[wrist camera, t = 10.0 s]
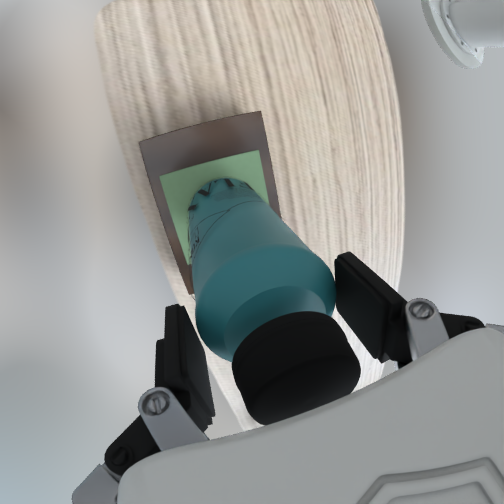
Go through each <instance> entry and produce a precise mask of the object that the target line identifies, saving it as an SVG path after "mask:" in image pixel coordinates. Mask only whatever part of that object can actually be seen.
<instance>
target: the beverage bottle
mask: <svg viewBox="0 0 504 504" xmlns="http://www.w3.org/2000/svg"><path fill="white" fill-rule="evenodd" d="M225 177H226V178H220V179H219V177H218V179H216V180H213V181H210V180H209V181H210V182H209V183H207V184H205V183H204V184H205V185H204V186H202V185H201V186H202V187H201V186H200V187H201V188H200V189H199V190H198V191H197V190H196V191H197V192H196V191H195V192H196V194H194V195H193V196H194V197H192V198H193V199H192V201H191V203H190V206H189V208H188V211H189V221H188V222H189V227H188V229H189V230H187V231H188V233H187V235H188V238H187V239H188V240H187V242H189V240H190V245H189V248H190V249H189V250H188V251H190V250H191V252H190V253H191V256H190V260H191V264H192V268H191V270H192V272H191V273H192V275H191V276H190V280H192V279H191V278H192V277H193V280H192V281H193V286H192V287H193V288H194V289H193V292H194V294H195V299H194V300H195V301H196V309H195V318H196V326H197V329H198V332H199V335H200V337H201V339H202V340H203V342H204V343H205V344H206V346H207V347H208V348H209V349H210V350H211V351H212V352H214V353H215V354H216V355H218V356H219V357H221V358H223V359H225V360H228V361H230V362H232V371H233V375H234V379H235V382H236V385H237V387H238V389H239V390H240V392H241V395H242V398H243V401H244V403H245V406H246V409H247V411H248V413H249V414H250V415H251V417H252V418H253V419H254V420H255V421H257V422H258V423H260V424H263V425H269V424H272V423H276V422H279V421H282V420H285V419H288V418H291V417H294V416H296V415H299V414H302V413H305V412H307V411H310V410H313V409H315V408H318V407H320V406H323V405H325V404H328V403H330V402H333V401H335V400H337V399H340V398H342V397H344V396H347V395H349V394H350V393H351V392H352V391H353V390H354V388H355V387H356V385H357V383H358V381H359V378H360V374H361V368H360V363H359V360H358V358H357V357H356V355H355V353H354V351H353V350H352V348H351V346H350V344H349V343H348V341H347V338H346V335H345V333H344V332H343V330H342V329H341V327H340V326H339V325H338V323H337V322H336V321H335V320H334V319H333V318H332V317H331V316H332V314H333V311H334V308H335V303H336V285H335V281H334V277H333V275H332V273H331V271H330V269H329V267H328V266H327V265H326V264H325V263H324V261H323V260H322V259H321V258H319V257H318V256H317V255H316V254H314V253H313V252H312V251H311V250H310V249H309V248H308V247H307V246H306V245H305V244H304V243H303V242H302V241H301V240H300V238H299V237H298V236H297V235H296V234H295V233H294V232H293V231H292V230H291V229H290V228H289V227H288V226H287V225H286V224H285V223H284V222H283V221H282V219H280V218H279V216H278V214H276V213H275V211H276V210H273V209H274V208H273V207H271V206H272V205H271V206H269V205H270V204H269V205H268V204H267V203H268V202H265V201H264V198H263V199H262V197H260V195H258V194H259V193H258V194H257V193H256V192H255V190H256V189H255V190H254V189H252V188H251V187H250V186H249V185H248V183H246V182H245V181H244V182H242V181H241V179H239V180H237V179H233V178H232V177H231V178H230V177H229V178H227V176H225ZM235 178H236V177H235ZM214 179H215V178H214ZM189 202H190V201H189ZM272 208H273V209H272ZM278 213H279V212H278ZM280 217H281V216H280ZM187 219H188V217H187ZM187 224H188V223H187ZM189 234H190V239H189ZM188 254H189V253H188ZM188 257H189V255H188ZM188 261H189V259H188ZM189 267H190V264H189ZM192 281H191V282H190V283H191V285H192ZM190 292H191V291H190ZM191 295H192V294H191ZM192 297H193V296H192Z"/></svg>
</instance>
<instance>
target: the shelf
mask: <svg viewBox="0 0 504 504" xmlns="http://www.w3.org/2000/svg"><path fill="white" fill-rule="evenodd" d="M139 146H140V150H141V154H142V157H143V161H144V164H145V168H146V171H147V175H148V178H149V181H150V185H151V188H152V191H153V194H154V198H155V201H156V204H157V207H158V210H159V213H160V216H161V219H162V222H163V225H164V228H165V231H166V234H167V237H168V240H169V243H170V245H171V248H172V251H173V254H174V256H175V259H176V262H177V265H178V267H179V270H180V273H181V275H182V278H183V280H184V283H185V286H186V288H187V291H188V293H189V295H190V294H194V292H193V289H194V288H193V287H192V286H193V281H192V280H193V277H192V278H191V279H192V280H190V276H191V275H192V273H191V272H192V270H191V268H192V264H191V260H190V256H191V253H190V252H191V250H190V251H188V250H189V249H190V248H189V245H190V240H189V242H187V240H188V239H187V238H188V235H187V233H188V231H187V230H189V229H188V227H189V222H188V221H189V211H188V208H189V206H190V203H191V201H192V199H193V198H192V197H194V196H193V195H194V194H196V192H197V191H198V190H199V189H200V188H201V187H202V186H204V185H205V184H207V183H209V182H210V181H213V180H216V179H218V177H219V179H220V178H226V177H225V176H227V178H229V177H230V178H231V177H232V178H233V179H237V180H239V179H241V181H242V182H244V181H245V182H246V183H248V185H249V186H250V187H251V188H252V189H254V190H255V189H256V190H255V192H256V193H257V194H258V193H259V194H258V195H260V197H262V199H263V198H264V201H265V202H268V203H267V204H268V205H269V204H270V205H269V206H271V205H272V206H271V207H273V208H274V209H273V208H272V209H273V210H276V211H275V213H276V214H278V216H279V218H280V219H281V217H280V216H281V213H280V207H279V202H278V196H277V190H276V185H275V179H274V174H273V169H272V163H271V158H270V153H269V148H268V143H267V138H266V133H265V128H264V123H263V118H262V113H261V111H256V112H251V113H246V114H240V115H236V116H231V117H226V118H222V119H217V120H213V121H209V122H205V123H201V124H197V125H193V126H189V127H186V128H182V129H179V130H175V131H172V132H168V133H165V134H162V135H159V136H155V137H152V138H149V139H146V140H143V141H140V142H139ZM235 177H236V178H235ZM214 178H215V179H214ZM209 180H210V181H209ZM204 183H205V184H204ZM201 185H202V186H201ZM200 186H201V187H200ZM196 190H197V191H196ZM195 191H196V192H195ZM189 201H190V202H189ZM278 212H279V213H278ZM187 217H188V219H187ZM187 223H188V224H187ZM189 239H190V234H189ZM188 253H189V254H188ZM188 255H189V257H188ZM188 259H189V261H188ZM189 264H190V267H189ZM191 281H192V285H191V283H190V282H191ZM190 291H191V292H190Z"/></svg>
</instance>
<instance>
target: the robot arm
mask: <svg viewBox="0 0 504 504" xmlns="http://www.w3.org/2000/svg"><path fill="white" fill-rule="evenodd" d="M440 11H441V16H442V19H443V21H444V24H445V26H446V28H447V30H448V32H449V34H450V36H451V37H452V39H453V40H454V42H455V43H456V44H457V45H458V47H459V48H460V49H461V50H462V51H464V52H465V53H467V54H469V55H476V54H478V52H479V50H480V47H504V0H459V1H458V0H441V1H440ZM334 266H335V285H336V308H337V311H338V312H339V314H340V315H341V316H342V318H343V319H344V320H345V321H346V323H347V324H348V325H349V327H350V328H351V329H352V330H353V332H354V333H355V334H356V336H357V337H358V338H359V340H360V341H361V342H362V344H363V345H364V346H365V348H366V349H367V350H368V352H369V353H370V354H371V356H372V357H373V358H374V359H377V358H378V360H379V361H380V362H381V364H382V363H384V362H386V361H387V360H389V359H391V360H392V361H394V365H395V372H393V373H391V374H390V375H388V376H386V377H384V378H382V379H380V380H378V381H376V382H374V383H372V384H370V385H368V386H366V387H364V388H362V389H360V390H357V391H355V392H353V393H351V394H349V395H347V396H344V397H342V398H340V399H337V400H335V401H333V402H330V403H328V404H325V405H323V406H320V407H318V408H315V409H313V410H310V411H307V412H305V413H302V414H299V415H296V416H294V417H291V418H288V419H285V420H282V421H279V422H276V423H272V424H269V425H266V426H263V427H259V428H256V429H252V430H248V431H245V432H241V433H237V434H233V435H229V436H225V437H221V438H217V439H212V440H210V439H209V438H208V437H207V436H206V435H205V433H204V431H205V430H206V429H207V428H208V425H211V424H212V418H211V417H214V416H215V409H214V404H213V398H212V393H211V387H210V382H209V375H208V368H207V362H206V355H205V351H204V349H203V346H202V344H201V342H200V340H199V338H198V336H197V333H196V331H195V329H194V327H193V325H192V322H191V320H190V318H189V315H188V313H187V311H186V309H185V307H184V306H180V305H179V304H175V305H171V306H168V307H166V310H165V335H164V339H160V340H157V342H156V361H155V388H152V389H149V390H148V391H147V392H145V393H144V394H143V395H142V396H141V397H140V400H139V402H138V409H139V412H140V415H139V417H137V418H136V420H135V421H134V422H133V423H132V424H131V425H130V426H129V427H128V428H127V429H126V430H125V431H124V432H123V433H122V434H121V435H120V436H119V437H118V438H117V439H116V440H115V441H114V442H113V443H112V444H111V445H110V446H109V447H108V449H107V450H106V453H105V459H104V460H105V463H104V464H103V465H100V464H99V465H98V466H97V467H96V468H95V469H94V470H93V471H92V472H91V473H90V474H89V476H88V477H87V478H86V479H85V480H84V481H83V482H82V483H81V484H80V485H79V486H78V487H77V488H76V489H75V491H74V492H73V494H72V502H73V504H504V326H501V325H494V324H486V326H484V324H483V323H482V322H481V321H480V320H479V319H477V318H475V317H471V316H462V315H454V314H445V313H439V312H438V309H437V307H436V306H435V304H434V303H433V302H431V301H429V300H427V299H423V298H416V299H412V300H411V301H409V302H407V301H406V300H405V299H404V298H403V297H401V296H400V295H399V294H398V293H397V292H396V291H395V290H394V289H393V288H392V287H390V286H389V285H388V284H387V283H386V282H385V281H384V280H383V279H381V278H380V277H379V276H378V275H377V274H376V273H375V272H373V271H372V270H371V269H370V268H369V267H368V266H366V265H365V264H364V263H363V262H362V261H361V260H359V259H358V258H357V257H356V256H355V255H354V254H352V253H351V252H346V253H343V254H340V255H338V256H337V259H335V261H334Z"/></svg>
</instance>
